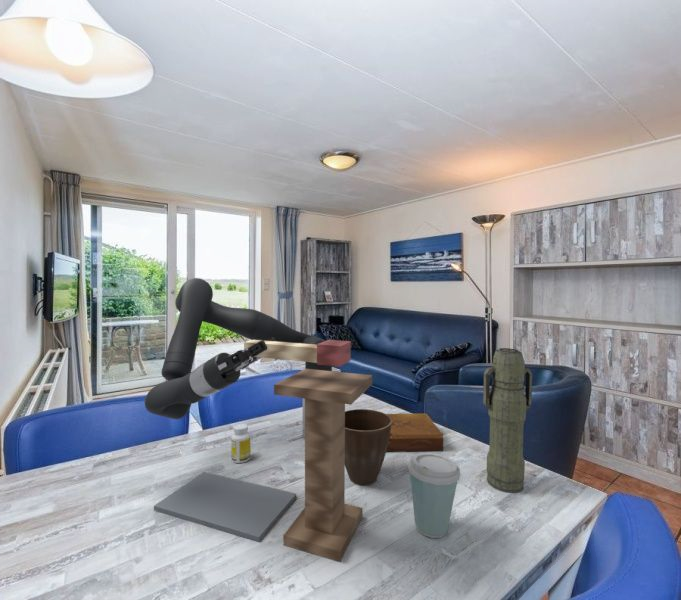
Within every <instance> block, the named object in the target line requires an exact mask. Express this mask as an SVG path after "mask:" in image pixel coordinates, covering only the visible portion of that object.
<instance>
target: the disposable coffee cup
mask: <svg viewBox="0 0 681 600" xmlns="http://www.w3.org/2000/svg"><path fill="white" fill-rule="evenodd" d="M407 469H408V471H409V479H410V488H411V498H412V506H413V515H414V523H415V526H416V528H417V530H418V532H419V533H421V534H422V536H423V535H424V536H425V537H427V538H431V539H440V538H442V537H444V536H445V535H446V533H447V532H448V529H449V524H450V519H451V515H452V509H453V507H454V505H453V504H454V499H455V497H456V490H457V486H458V481H460V478H461V469H460V467H459V466H458V464H456V462H455V461H454V460H453V459H451V458H449V457H448V456H445V455H443V454H441V453H440V454H439V453H435V452H419V453H416V454H414V455H413V456H412V457H411V459H410V461H409V462H408V467H407Z"/></svg>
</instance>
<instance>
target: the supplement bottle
mask: <svg viewBox="0 0 681 600" xmlns="http://www.w3.org/2000/svg"><path fill="white" fill-rule="evenodd" d="M230 441H231V442H230V443H231V444H230V446H231V447H230V448H231V449H230V450H231V452H230V453H231V461H232V462H233V463H234V464H235V463H236V464H243V463H246V462H248V461H249V460H250V459H251V433H250V432H249V426H248V424H246V423H238V424H235V425H234V426H233V433H232V434H231V437H230Z"/></svg>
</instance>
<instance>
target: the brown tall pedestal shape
mask: <svg viewBox="0 0 681 600" xmlns="http://www.w3.org/2000/svg"><path fill="white" fill-rule="evenodd" d="M372 385H373V375H372V374H366V373H365V374H363V373H352V372H344V371H343V372H342V371H333V370H332V371H324V370H314V369H305V368H304V369H302V370H300V371H298V372H296V373H294V374H292V375H290V376H288V377H286V378H284V379H283V380H280V381H278V382H276V383H274V384H273V395H276V396H283V397H290V398H297V399H303V398H304V399H305V438H304V508H303V509H302V511H301V512H300V513H299V515H298V516H297V517H296V518H295V520H293V522H292V524H291V525H290V526H289V527H288V528H287V530H286V531H285V532H284V534H283V546H286V547H289V548H292V549H295V550H299V551H302V552H304V553H305V552H306V553H309V554H311V555H316V556H319V557H322V558H325V559H329V560H333V561H336V562H339V563H341V561H342V559H343V557H344V555H345V553H346V551H347V549H348V547H349V545H350V542H351V541H352V538H353V537H354V535H355V533H356V531H357V530H358V529H357V528H358V526H359V524H360V522H361V520H362V518H363V507H360V506H357V505H352V504H347V503H345V496H346V495H345V491H346V490H345V485H346V484H345V483H346V482H345V481H346V477H345V475H346V474H345V472H346V468H345V411H346V405H350V406H351V405H353V403H355V401H357V400H358V398H360V397H361V396H362V395H363V394H364V393H365V392H366V391H367V390H368V389H369V388H370V387H371V386H372Z"/></svg>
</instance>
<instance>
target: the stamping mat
mask: <svg viewBox="0 0 681 600" xmlns="http://www.w3.org/2000/svg"><path fill="white" fill-rule="evenodd" d="M296 499H297V493H294V492H292V491H287V490H283V489H278V488H274V487H269V486H266V485H262V484H259V483H258V484H257V483H254V482H248V481H245V480H241V479H236V478H232V477H228V476H224V475H220V474H215V473H210V472H207V471H202V472H201V473H200V474H198V475H197V476H195V477H193V478H192V479H191V480H189V481H187V482H186V483H185V484H184V485H182V486H181V487H179V488H178V489H176V490H175V491H173V492H172V493H170V494H169V495H167V496H166V497H165V498H163V499H161V500H160V501H158V502H157V503H155V504H154V505H153V511H156V512H159V513H163V514H165V515H169V516H172V517H175V518H179V519H182V520H185V521H187V522H188V521H189V522H192V523H195V524H199V525H202V526H206V527H209V528H212V529H214V530H215V529H216V530H218V531H221V532H225V533H228V534H231V535H234V536H237V537H241V538H245V539H248V540H251V541H255V542H258V543H259V542H261V540H262V539H263V538H264V536H266V535H267V533H268V532H269V531H270V530H271V528H272V527H273V526H274V525H275V524H276V522H277V521H278V520H279V519H280V518H281V517H282V515H283V514H284V513H285V512H286V511H287V509H288V508H289V507H290V506H291V505H292V503H294V501H295V500H296Z"/></svg>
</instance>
